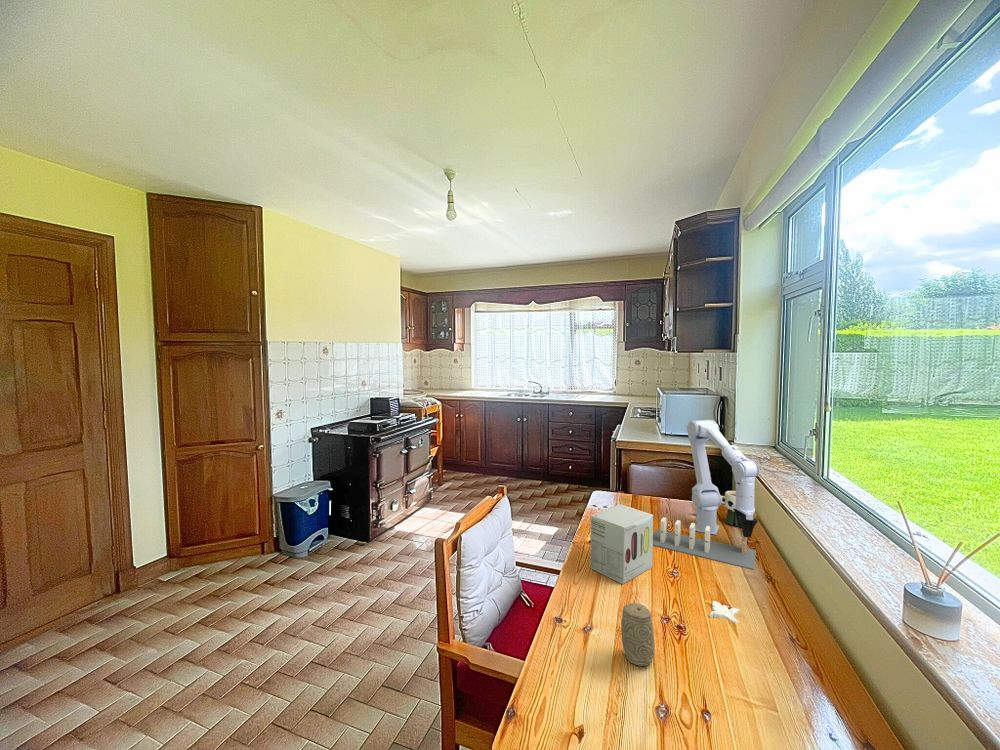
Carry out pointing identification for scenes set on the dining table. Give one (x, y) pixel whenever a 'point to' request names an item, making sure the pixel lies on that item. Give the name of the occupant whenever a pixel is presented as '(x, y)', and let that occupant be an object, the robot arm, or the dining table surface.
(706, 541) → the tile
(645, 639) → the carving
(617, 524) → the supplement box
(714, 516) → the robot arm
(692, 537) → the tile
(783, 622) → the dining table surface
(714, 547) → the mat
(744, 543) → the tile end
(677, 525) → the tile
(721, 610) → the acanthus leaf ornament
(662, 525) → the tile
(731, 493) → the character mug
